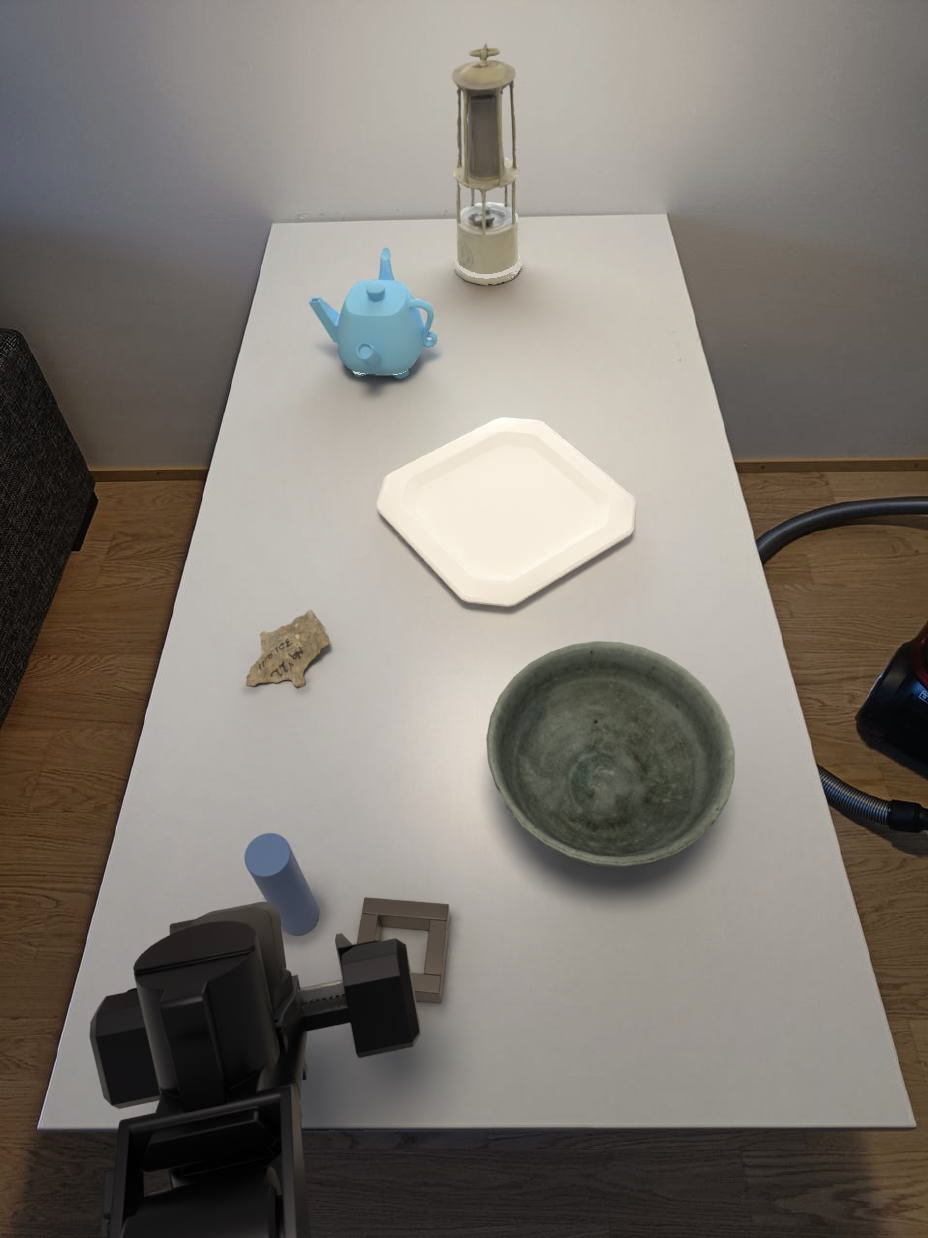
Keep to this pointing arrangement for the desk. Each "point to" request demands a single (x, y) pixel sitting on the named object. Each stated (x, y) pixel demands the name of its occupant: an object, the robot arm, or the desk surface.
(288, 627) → the artifact
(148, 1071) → the robot arm
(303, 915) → the blue tall cylinder
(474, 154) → the lamp
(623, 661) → the bowl
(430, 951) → the frame
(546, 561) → the plate
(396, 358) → the teapot
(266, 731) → the desk surface
